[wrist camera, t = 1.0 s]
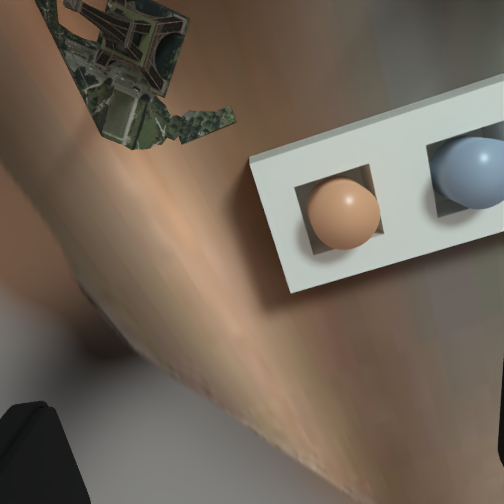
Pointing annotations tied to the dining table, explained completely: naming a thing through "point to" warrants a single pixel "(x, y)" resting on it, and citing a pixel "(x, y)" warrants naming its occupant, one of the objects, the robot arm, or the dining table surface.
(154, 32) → the eiffel tower figurine
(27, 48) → the dining table surface
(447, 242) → the white button panel
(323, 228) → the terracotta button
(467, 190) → the slate blue button
